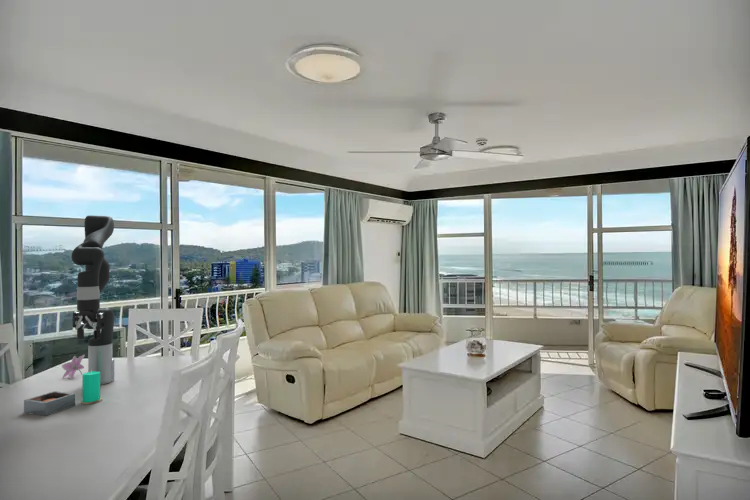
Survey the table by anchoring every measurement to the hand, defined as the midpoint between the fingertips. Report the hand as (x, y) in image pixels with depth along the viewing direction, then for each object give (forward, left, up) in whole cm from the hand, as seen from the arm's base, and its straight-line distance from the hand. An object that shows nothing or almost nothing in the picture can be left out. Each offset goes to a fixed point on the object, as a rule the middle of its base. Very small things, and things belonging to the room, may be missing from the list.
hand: (88, 339), depth 170 cm
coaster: (0, +1, -24) cm, 24 cm away
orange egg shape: (+11, -6, -24) cm, 27 cm away
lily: (-24, -40, -25) cm, 53 cm away
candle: (0, +1, -24) cm, 24 cm away
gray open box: (+11, -6, -24) cm, 27 cm away
